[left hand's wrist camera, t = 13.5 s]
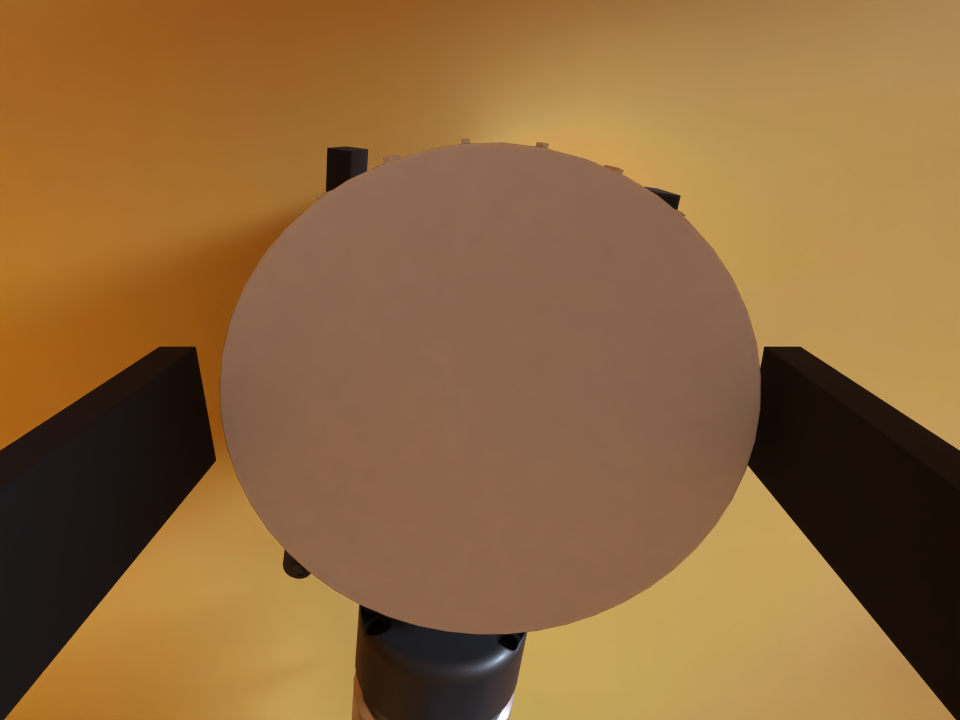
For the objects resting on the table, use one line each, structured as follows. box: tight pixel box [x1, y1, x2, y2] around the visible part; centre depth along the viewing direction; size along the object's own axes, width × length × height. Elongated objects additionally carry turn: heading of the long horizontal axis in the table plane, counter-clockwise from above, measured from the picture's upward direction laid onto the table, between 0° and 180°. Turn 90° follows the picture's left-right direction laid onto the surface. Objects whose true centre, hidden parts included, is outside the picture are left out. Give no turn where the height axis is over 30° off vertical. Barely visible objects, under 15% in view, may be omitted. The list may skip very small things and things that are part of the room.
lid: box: [219, 139, 761, 634], centre depth 12 cm, size 11×11×2 cm
